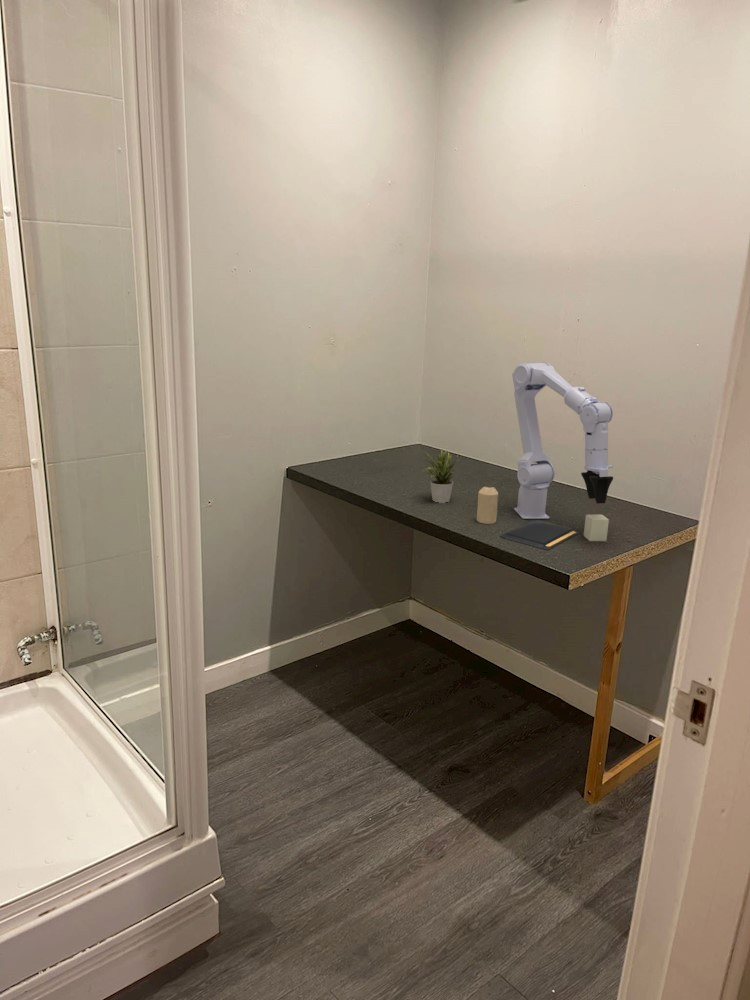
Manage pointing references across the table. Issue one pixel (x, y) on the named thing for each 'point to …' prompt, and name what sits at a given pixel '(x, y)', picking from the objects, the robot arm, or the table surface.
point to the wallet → (540, 534)
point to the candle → (487, 505)
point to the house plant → (441, 478)
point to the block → (596, 527)
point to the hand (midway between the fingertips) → (596, 500)
